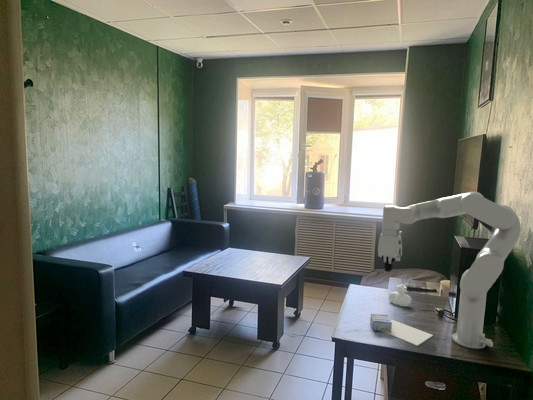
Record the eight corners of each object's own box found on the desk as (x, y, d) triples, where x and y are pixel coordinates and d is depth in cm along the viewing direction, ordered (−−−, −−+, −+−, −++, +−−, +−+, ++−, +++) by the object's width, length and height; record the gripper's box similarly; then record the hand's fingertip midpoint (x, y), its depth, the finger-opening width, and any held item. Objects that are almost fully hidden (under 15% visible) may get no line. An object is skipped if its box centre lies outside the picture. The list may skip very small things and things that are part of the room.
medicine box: (387, 314, 174) (392, 322, 165) (387, 324, 174) (391, 332, 166) (370, 313, 175) (373, 321, 166) (369, 322, 175) (373, 331, 167)
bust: (410, 311, 196) (416, 291, 200) (407, 305, 191) (413, 285, 195) (388, 304, 204) (394, 285, 208) (384, 299, 199) (391, 280, 203)
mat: (432, 336, 164) (433, 335, 164) (417, 346, 155) (417, 345, 155) (392, 320, 179) (392, 319, 179) (375, 328, 170) (375, 328, 170)
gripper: (410, 233, 170) (407, 273, 173) (380, 228, 181) (377, 265, 183) (401, 236, 165) (399, 276, 167) (371, 230, 176) (369, 268, 178)
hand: (388, 270), depth 175 cm, fingers closed
